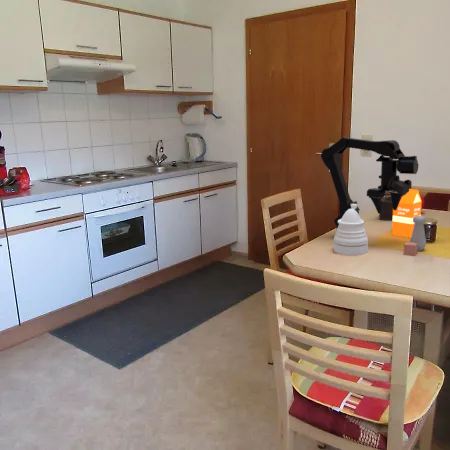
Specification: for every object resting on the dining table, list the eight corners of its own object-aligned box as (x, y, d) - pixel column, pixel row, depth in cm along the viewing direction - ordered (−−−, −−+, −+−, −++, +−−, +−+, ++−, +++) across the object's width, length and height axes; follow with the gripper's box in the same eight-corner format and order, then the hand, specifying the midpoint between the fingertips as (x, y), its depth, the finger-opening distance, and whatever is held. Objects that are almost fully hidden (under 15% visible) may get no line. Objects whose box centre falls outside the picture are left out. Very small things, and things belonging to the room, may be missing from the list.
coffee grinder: (380, 215, 232) (382, 180, 228) (403, 216, 227) (405, 181, 223) (375, 222, 219) (376, 185, 215) (399, 223, 214) (401, 186, 209)
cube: (403, 254, 168) (404, 244, 167) (405, 251, 171) (406, 241, 170) (414, 256, 166) (415, 245, 165) (417, 253, 169) (417, 243, 168)
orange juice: (411, 238, 189) (413, 191, 184) (391, 234, 195) (393, 189, 191) (420, 234, 194) (422, 188, 189) (400, 231, 200) (402, 186, 196)
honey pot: (344, 244, 185) (345, 201, 180) (373, 249, 176) (375, 204, 171) (327, 251, 176) (327, 206, 172) (356, 257, 167) (358, 210, 163)
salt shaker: (427, 251, 170) (429, 218, 167) (411, 251, 171) (413, 218, 168) (423, 247, 175) (425, 214, 172) (408, 247, 176) (409, 214, 173)
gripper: (390, 177, 165) (388, 218, 169) (422, 172, 175) (419, 211, 178) (366, 174, 174) (365, 214, 178) (397, 170, 184) (396, 207, 187)
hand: (387, 211), depth 180 cm, fingers open, 9 cm apart
